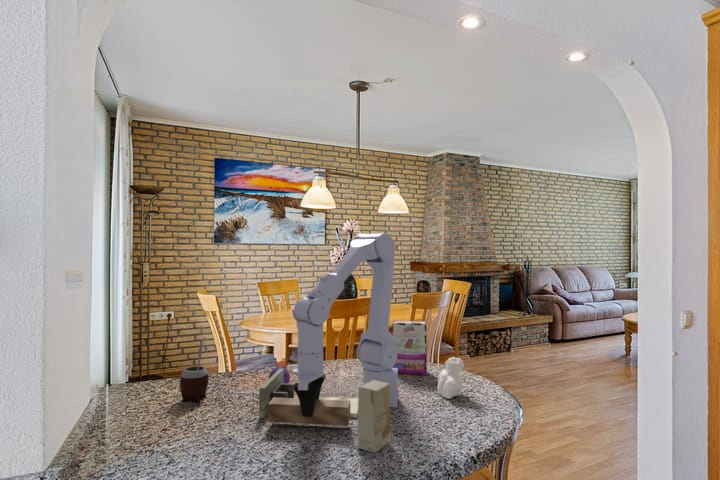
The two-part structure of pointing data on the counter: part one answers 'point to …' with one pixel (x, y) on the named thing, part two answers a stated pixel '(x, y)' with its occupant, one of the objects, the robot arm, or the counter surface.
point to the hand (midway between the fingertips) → (310, 411)
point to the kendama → (286, 374)
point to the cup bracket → (290, 394)
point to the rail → (322, 415)
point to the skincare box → (373, 415)
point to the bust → (450, 378)
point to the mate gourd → (194, 381)
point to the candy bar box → (410, 347)
